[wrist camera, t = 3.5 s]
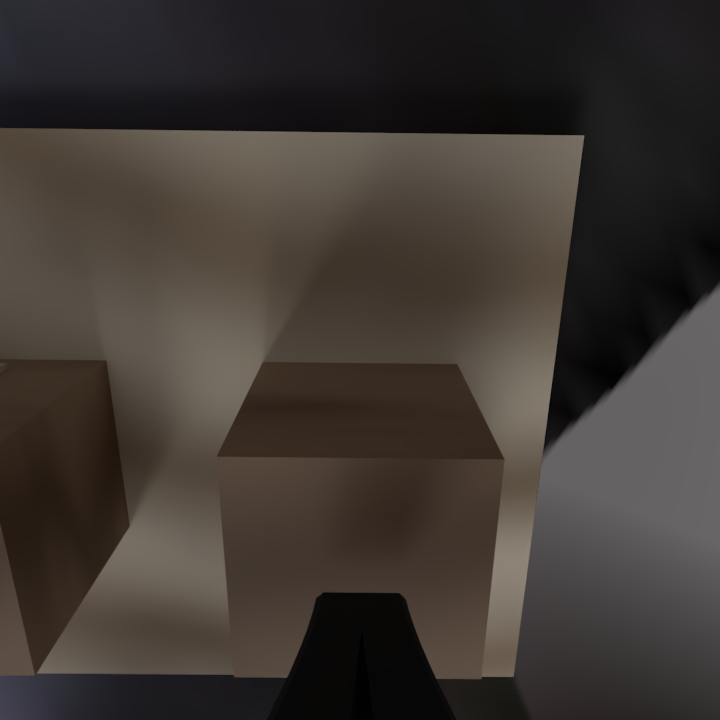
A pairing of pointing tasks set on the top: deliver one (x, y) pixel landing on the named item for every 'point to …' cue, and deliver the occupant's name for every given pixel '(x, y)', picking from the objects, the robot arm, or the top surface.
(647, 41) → the top surface
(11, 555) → the one bar block
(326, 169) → the board
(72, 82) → the top surface
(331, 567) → the plain block
